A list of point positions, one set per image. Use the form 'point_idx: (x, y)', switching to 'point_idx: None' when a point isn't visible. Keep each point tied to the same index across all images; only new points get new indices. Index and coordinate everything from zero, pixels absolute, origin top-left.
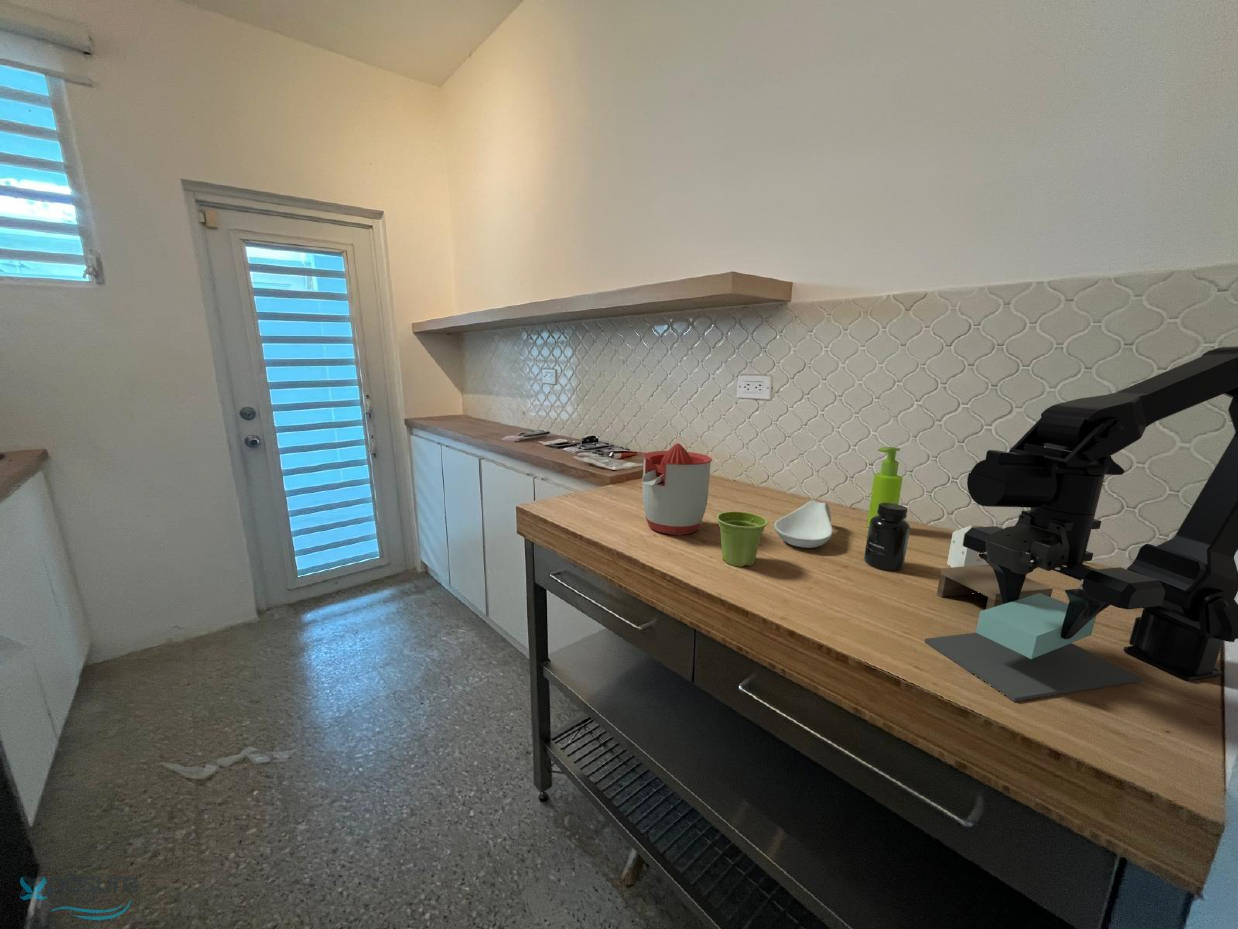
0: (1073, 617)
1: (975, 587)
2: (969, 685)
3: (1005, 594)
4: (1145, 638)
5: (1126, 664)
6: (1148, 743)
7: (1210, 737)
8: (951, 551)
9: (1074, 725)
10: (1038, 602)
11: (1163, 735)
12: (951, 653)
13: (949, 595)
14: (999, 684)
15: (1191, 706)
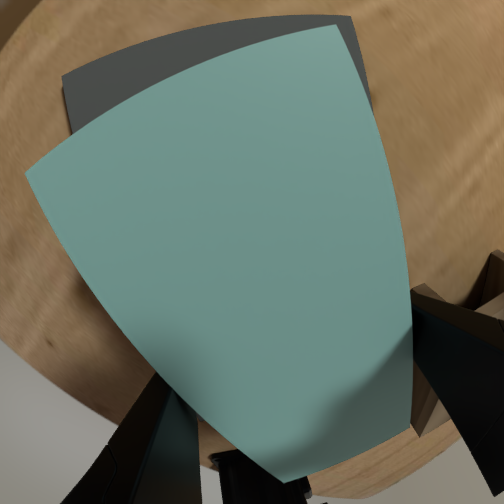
0: (111, 449)
1: (492, 307)
2: (133, 3)
3: (449, 319)
4: None
5: None
6: (5, 282)
7: (63, 386)
8: None
9: (11, 174)
10: (375, 409)
11: (36, 327)
12: (273, 28)
13: (489, 272)
14: (113, 67)
15: None
